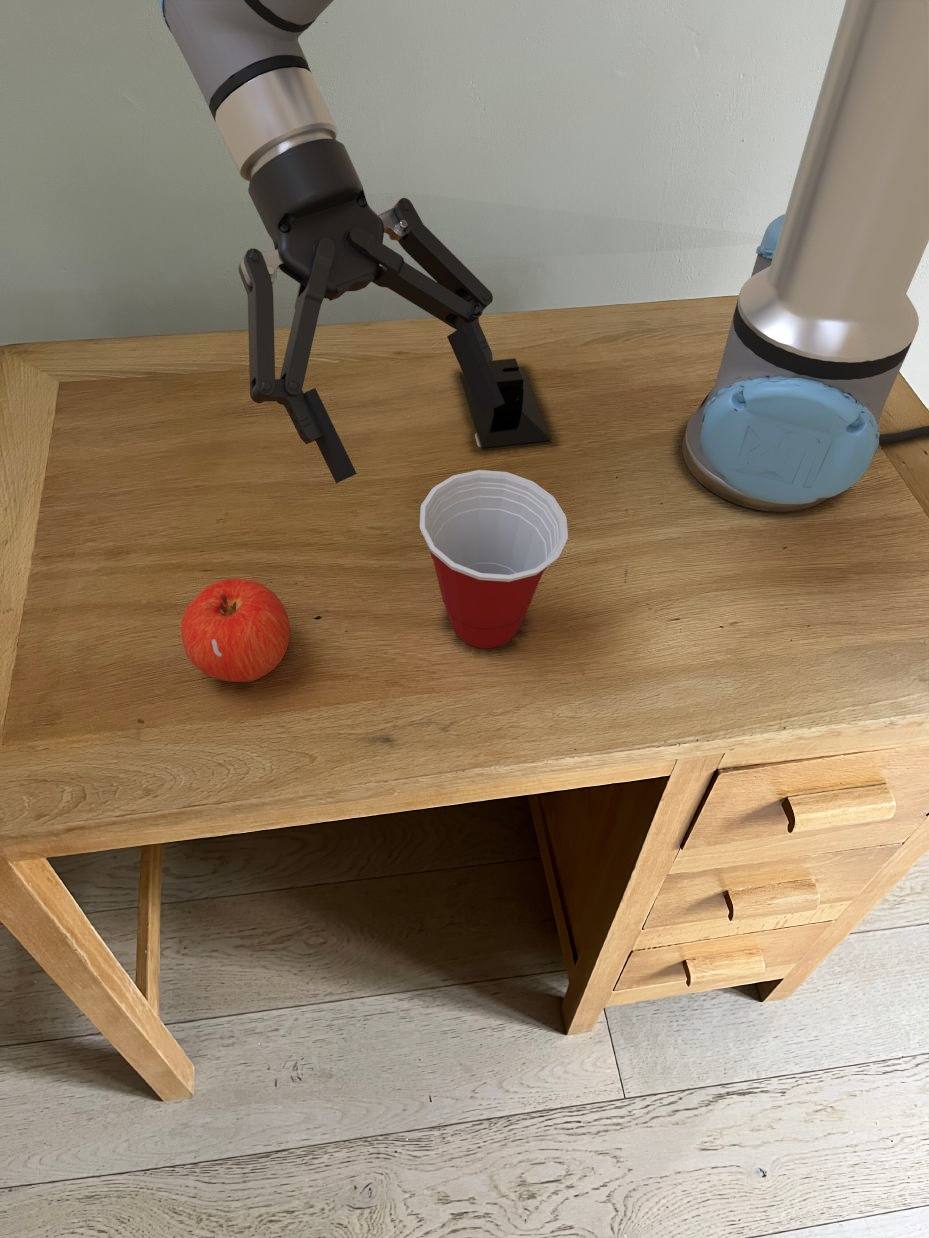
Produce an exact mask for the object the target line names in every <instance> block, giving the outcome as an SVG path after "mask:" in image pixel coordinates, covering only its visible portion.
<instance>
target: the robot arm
mask: <svg viewBox="0 0 929 1238" xmlns="http://www.w3.org/2000/svg"><path fill="white" fill-rule="evenodd" d="M156 1H157V3H158V5H159V9H160V13H161V16H162V20H163V22H164V23H165V25H166V27H167V29H168V31H169V32H170V33H171V34H172V36H173V39H174V40H175V43H176V44H177V47H178V49H179V50H180V53H181V54H182V56H183V58H184V60H185V62H186V64H187V65H188V67H189V71H190V72H191V74H192V76H193V78H194V80H195V82H196V85H197V86H198V89H199V90H200V93H201V94H202V96H203V99H204V101H205V103H206V105H207V106H208V108H209V111H210V114H211V116H212V118H213V120H214V122H215V125H216V127H217V129H218V131H219V133H220V135H221V137H222V139H223V141H224V144H225V146H226V148H227V150H228V152H229V155H230V156H231V158H232V160H233V163H234V164H235V167H236V169H237V171H238V173H239V174H240V177H241V178H243V180H245V181H247V182H249V184H248V188H247V189H248V190H247V191H248V195H249V197H250V199H251V201H252V203H253V205H254V207H255V209H256V211H257V213H258V215H259V218H260V220H261V222H262V224H263V227H264V228H265V230H266V232H267V234H268V236H269V237H270V239H271V240H272V243H273V246H274V247H273V248H274V249H272V250H266V251H260V250H259V249H258V248H255V247H253V248H249V249H248V250H246V252H245V253H244V256H243V258H242V259H241V261H240V262H239V264H238V268H237V269H238V273H239V276H240V279H241V282H242V284H243V287H244V290H245V292H246V295H247V325H248V327H247V329H248V369H249V370H248V371H249V374H248V375H249V397H250V399H251V401H253V402H254V403H256V404H262V403H264V402H265V403H266V402H275V403H277V404H279V405H281V406H283V407H284V408H285V410H286V412H287V414H288V417H289V418H290V420H291V422H292V425H293V426H294V428H295V430H296V432H297V434H298V436H299V439H300V440H301V441H302V442H303V443H304V444H306V445H309V444H311V443H313V442H315V443H316V445H317V447H318V450H319V452H320V453H321V456H322V458H323V460H324V461H325V464H326V466H327V468H328V470H329V472H330V474H331V476H332V478H333V480H334V482H335V484H338V483H341V482H342V481H345V480H347V479H349V478H351V477H353V476H356V475H358V473H357V471H356V469H355V467H354V465H353V463H352V460H351V459H350V456H349V454H348V453H347V451H346V449H345V446H344V444H343V443H342V440H341V438H340V436H339V434H338V431H337V430H336V428H335V425H334V423H333V422H332V419H331V418H330V415H329V413H328V411H327V409H326V407H325V405H324V403H323V400H322V398H321V396H320V395H319V393H318V390H317V389H316V387H314V388H311V389H310V390H307V391H305V392H304V391H303V388H304V383H305V378H306V374H307V373H306V372H307V370H308V364H309V361H310V356H311V351H312V347H313V342H314V338H315V334H316V329H317V324H318V319H319V315H320V310H321V308H322V307H321V306H322V304H323V302H324V299H325V300H329V302H331V301H334V300H337V299H339V298H340V297H342V296H343V295H344V294H346V293H347V292H358V291H360V290H363V289H366V288H367V287H368V285H369V284H370V283H373V284H375V285H376V286H378V287H379V288H387V289H389V290H390V291H392V292H394V293H395V294H397V295H398V296H400V297H402V298H403V299H404V300H407V301H408V302H410V303H411V304H413V305H415V306H416V307H418V308H420V309H422V310H424V311H425V312H426V313H428V314H430V315H431V316H433V317H434V318H435V319H438V320H440V321H442V323H444V324H447V325H448V326H449V327H451V328H452V329H454V331H453V332H452V333H450V334H448V335H447V336H446V339H447V340H448V343H449V345H450V347H451V350H452V351H453V354H454V356H455V358H456V360H457V363H458V365H459V367H460V370H461V372H463V374H464V376H465V378H466V381H467V383H468V385H469V387H470V390H471V392H472V394H473V396H474V399H475V401H476V403H477V405H478V408H479V410H480V412H481V414H483V413H485V412H488V411H490V410H492V409H494V408H496V407H498V406H500V405H503V404H505V402H504V399H503V397H502V395H501V393H500V390H499V388H498V386H497V383H496V381H495V379H494V377H493V374H492V372H491V370H490V367H489V365H488V362H490V361H494V359H493V352H492V349H491V347H490V344H489V342H488V341H487V338H486V336H485V333H484V330H483V329H482V326H481V324H480V320H479V319H480V317H481V316H482V315H483V312H484V310H485V309H486V308H487V307H488V306H489V305H491V304H492V303H493V300H494V296H493V293H492V292H491V291H490V290H489V288H487V286H486V285H485V284H484V283H483V282H482V281H480V279H479V278H478V277H477V276H476V275H475V274H474V273H473V272H472V271H471V270H470V269H469V268H468V267H466V265H465V264H464V263H463V262H462V261H461V260H460V259H459V258H458V257H457V256H456V255H455V254H454V253H452V251H451V250H450V249H449V248H448V247H447V246H446V245H445V244H444V243H443V242H442V241H441V240H440V239H439V238H438V237H437V236H436V235H435V234H434V233H433V232H432V231H431V230H430V229H428V227H427V226H426V225H425V224H424V223H423V220H422V219H421V217H420V215H419V213H418V212H417V209H416V208H415V206H414V204H413V203H412V201H411V200H410V199H409V198H407V197H402V198H400V199H398V201H397V202H396V203H395V204H394V206H393V207H391V208H389V209H387V210H385V211H383V212H381V213H379V214H377V213H376V212H375V211H374V210H373V209H372V207H370V205H369V203H368V201H367V198H366V193H365V190H364V186H363V184H362V181H361V180H360V176H359V175H358V172H357V170H356V168H355V166H354V163H353V162H352V159H351V157H350V154H349V152H348V150H347V148H346V146H345V144H344V143H342V142H341V141H339V140H338V139H337V136H338V134H339V131H338V128H337V124H336V122H335V120H334V118H333V116H332V114H331V111H330V110H329V107H328V105H327V103H326V101H325V99H324V97H323V95H322V93H321V90H320V88H319V86H318V84H317V82H316V79H315V78H314V75H313V73H312V70H311V68H310V67H309V63H308V61H307V58H306V56H305V53H304V51H303V49H302V47H301V44H300V42H299V38H300V36H301V35H302V34H303V33H304V32H305V31H306V30H308V29H309V28H310V27H311V26H312V25H313V23H315V22H316V20H317V19H318V18H319V16H321V14H322V13H323V12H324V11H325V10H326V9H327V8H328V7H329V6H330V5H331V4H332V3H333V2H334V1H335V0H156ZM837 26H838V27H837V30H836V33H835V37H834V41H833V45H832V48H831V51H830V55H829V59H828V62H827V66H826V69H825V73H824V77H823V79H822V82H821V87H820V90H819V94H818V96H817V101H816V104H815V107H814V111H813V114H812V120H811V122H810V126H809V129H808V132H807V136H806V140H805V143H804V146H803V150H802V154H801V157H800V161H799V165H798V168H797V172H796V175H795V179H794V182H793V185H792V189H791V193H790V196H789V199H788V203H787V207H786V210H785V213H783V214H781V215H779V216H777V217H776V218H774V219H773V220H771V222H770V223H769V224H768V225H767V227H766V229H765V231H764V234H763V236H762V239H761V242H760V245H759V246H757V248H756V250H755V253H756V257H755V262H754V265H753V269H752V271H751V275H750V277H749V278H748V279H747V280H746V281H745V282H744V283H743V285H742V287H741V288H740V291H739V293H738V296H737V301H736V304H735V307H734V308H735V309H734V312H733V315H732V319H731V324H730V326H729V330H728V334H727V338H726V342H725V345H724V350H723V353H722V357H721V361H720V364H719V369H718V372H717V375H716V380H715V383H714V384H713V386H712V387H711V389H709V391H708V392H707V393H706V395H705V396H704V398H703V399H702V400H701V402H700V403H699V405H698V406H697V408H696V410H695V411H694V412H693V413H692V414H691V416H690V418H689V420H688V422H687V425H686V427H685V428H686V429H685V432H684V435H683V439H682V445H681V451H682V457H683V461H684V462H685V465H686V467H687V468H688V470H689V472H690V473H691V474H692V476H693V477H694V478H695V479H696V480H697V482H699V483H700V484H701V485H702V486H703V487H705V488H706V489H707V490H708V491H710V492H711V493H713V494H715V496H718V497H720V498H722V499H724V500H726V501H729V502H730V503H732V504H735V505H739V506H742V507H744V508H748V509H753V510H757V511H763V512H775V513H785V512H786V513H787V512H795V511H796V512H797V511H801V510H807V509H809V508H812V507H815V506H817V505H819V504H821V503H823V502H824V501H826V500H827V499H830V498H832V497H836V496H837V495H839V494H842V493H843V492H845V491H846V490H848V489H849V488H851V487H852V486H853V485H854V484H856V483H857V482H858V481H859V480H860V479H861V478H862V476H864V475H865V473H866V472H867V470H868V469H869V466H870V465H871V462H872V459H873V457H874V455H875V454H876V452H877V450H878V447H879V445H880V444H882V443H883V444H885V443H893V442H900V441H906V440H909V439H910V440H911V439H913V438H918V437H922V436H925V435H926V436H927V435H929V425H925V426H924V425H923V426H920V427H916V428H912V429H908V430H904V431H898V432H891V433H882V434H881V433H880V427H879V423H880V421H881V420H880V419H881V417H882V413H883V410H884V408H885V405H886V403H887V400H888V397H889V396H890V394H891V391H892V389H893V386H894V384H895V383H896V380H897V378H898V375H899V373H900V371H901V368H902V366H903V364H904V361H905V360H906V357H907V355H908V353H909V351H910V348H911V347H912V344H913V341H914V339H915V337H916V335H917V332H918V330H919V325H920V321H919V320H920V319H919V318H920V317H919V314H918V312H917V309H916V307H915V305H914V304H913V302H912V300H911V299H910V297H909V296H908V294H907V293H908V290H909V288H910V286H911V284H912V282H913V279H914V277H915V274H916V272H917V270H918V267H919V265H920V262H921V261H922V258H923V256H924V253H925V250H926V249H927V246H928V243H929V0H845V1H844V5H843V9H842V11H841V16H840V19H839V23H838V25H837ZM385 234H386V235H388V238H389V239H390V240H391V241H397V242H398V245H400V247H401V248H402V249H403V250H404V251H405V253H407V254H408V256H410V257H411V259H412V260H414V262H416V263H417V265H418V266H420V267H421V268H422V269H423V270H424V271H425V272H426V273H427V274H428V275H429V276H430V277H429V276H428V275H426V274H424V272H421V271H420V270H418V269H416V267H414V266H412V265H410V264H409V263H407V262H406V261H405V259H404V257H403V256H402V255H401V254H400V253H398V252H397V251H395V250H393V249H392V248H391V247H388V246H387V245H385V244H384V243H383V242H384V236H385ZM277 270H280V271H281V272H282V273H283V274H285V275H287V276H288V277H289V278H291V279H292V280H294V281H295V282H296V283H298V284H299V285H298V290H297V294H296V298H295V304H294V314H293V318H292V322H291V327H290V331H289V336H288V339H287V343H286V344H287V346H286V349H285V354H284V357H283V363H282V366H281V371H280V376H279V378H276V358H275V357H276V356H275V353H276V352H275V350H276V349H275V314H274V311H275V310H274V309H275V308H274V287H273V286H274V285H273V284H274V283H275V281H276V280H277V279H278V272H277Z"/></svg>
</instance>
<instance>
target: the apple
mask: <svg viewBox="0 0 929 1238" xmlns="http://www.w3.org/2000/svg"><path fill="white" fill-rule="evenodd" d="M290 624H291V623H290V619H289V615H288V613H287V610H286V608H285V606H284V604H283V602H282V600H281V599H280V598H279V596H277V595H276V594H275V592H273V591H272V590H271V589H269V587H268V586H266V585H263V584H262V583H260V582H258V581H254V580H248V579H243V578H241V579H240V578H226V579H221V580H218V581H215V582H213V583H211V584H210V585H207V586H206V587H205V588H203V590H202V591H200V592H199V594H197V596H195V597H194V599H193V600H192V601H191V602H190V603H189V604H188V606H187V607H186V609H185V611H184V613H183V615H182V618H181V623H180V633H181V641H182V644H183V649H184V652H185V653H186V656H187V658H188V659H189V661H190V662H191V663H192V664H193V665H194V666H195V667H196V668H197V669H198V670H199V671H200V672H202V673H203V674H204V675H206V676H208V677H210V678H213V679H216V680H220V681H224V682H231V683H232V682H233V683H241V682H242V683H246V682H254V681H257V680H259V679H261V678H263V677H264V676H266V675H268V674H269V673H270V672H272V671H273V670H274V669H275V668H276V667H277V666H278V665H279V664H280V663H281V661H282V659H283V658H284V657H285V654H286V652H287V649H288V646H289V642H290V634H291V633H290V632H291V625H290Z"/></svg>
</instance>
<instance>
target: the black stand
mask: <svg viewBox="0 0 929 1238" xmlns="http://www.w3.org/2000/svg"><path fill="white" fill-rule="evenodd" d="M488 365H489V367H490V370H491V372H492V374H493V377H494V379H495V381H496V383H497V386H498V388H499V390H500V393H501V395H502V397H503V399H504V402H505V404H503V405H500V406H498V407H496V408H494V409H492V410H490V411H488V412H485V413H483V414H481V412H480V410H479V408H478V405H477V403H476V401H475V399H474V396H473V394H472V392H471V390H470V387H469V385H468V383H467V381H466V378H465V376H464V374H463V372H462V371H461V372H459V374H458V375H459V376H458V377H459V380H460V383H461V386H462V390H463V394H464V397H465V399H466V403H467V406H468V410H469V413H470V416H471V419H472V423H473V426H474V429H475V434H474V439H475V442H476V445H477V447H478V448H480V449H481V450H482V451H488V450H497V449H506V448H514V447H516V448H517V447H524V446H533V445H542V444H549V443H551V436H550V433H549V430H548V428H547V425H546V422H545V420H544V417H543V415H542V413H541V410H540V407H539V405H538V402H537V399H536V397H535V394H534V392H533V388H532V386H531V383H530V380H529V379H528V375H527V374H526V371H525V368H524V366H519V363H518V360H517V358H506V359H495V360H494V359H493V360H492V361H490V362H488Z"/></svg>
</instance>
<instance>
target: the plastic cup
mask: <svg viewBox="0 0 929 1238" xmlns="http://www.w3.org/2000/svg"><path fill="white" fill-rule="evenodd" d="M419 512H420V513H419V529H420V532H421V535H422V536H423V539H424V540H425V542H426V545H427V547H428V549H429V551H430V557H431V558H432V561H433V565H434V570H435V573H436V578H437V582H438V586H439V590H440V595H441V598H442V602H443V604H444V606H445V610H446V615H447V618H448V623H449V624H450V626H451V628H452V630H453V632H454V634H455V636H456V637H457V638H459V640H461V641H463V642H464V643H465V644H467V645H470V646H473V647H475V648H478V649H482V648H483V649H493V648H497V647H499V646H503V645H506V644H507V643H508V642H510V641H511V640H512V639H513V638H514V637H515V636H516V634H517V633H518V632H519V629H520V627H521V625H522V624H523V621H524V618H525V616H526V612H527V611H528V608H529V607H530V605H531V602H532V600H533V598H534V595H535V592H536V590H537V588H538V586H539V583H540V581H541V578H542V576H543V574H544V572H545V570H547V569H548V567H549V566H551V565H552V564H553V563H555V562H556V561H557V560H558V559H559V558H560V555H561V554H562V551H563V549H564V547H565V546H566V543H567V541H568V539H569V532H568V521H567V516H566V513H565V512H564V511H563V509H562V508H561V506H560V504H559V503H558V501H557V499H556V498H555V497H554V496H553V495H552V494H551V493H549V492H548V491H546V490H545V489H544V488H543V487H541V486H540V485H539V484H537V483H536V482H534V481H533V480H530V479H527V478H524V477H522V476H519V475H517V474H513V473H511V472H508V471H500V470H499V471H496V470H486V469H485V470H484V469H477V470H473V471H472V470H471V471H468V472H467V471H466V472H462V473H458V474H453V475H452V476H450V477H448V478H447V479H445V480H443V481H442V482H440V483H438V484H437V485H434V487H432V489H431V490H430V491H429V493H428V495H427V496H426V497H425V498H424V501H423V502H422V503H421V505H420V511H419Z"/></svg>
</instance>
